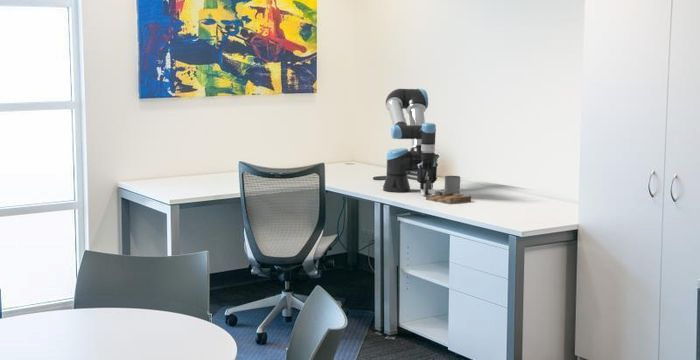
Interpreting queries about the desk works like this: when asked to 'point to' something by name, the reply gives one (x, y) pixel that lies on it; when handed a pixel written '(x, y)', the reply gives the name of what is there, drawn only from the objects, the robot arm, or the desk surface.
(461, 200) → the dock
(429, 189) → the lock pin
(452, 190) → the cup
